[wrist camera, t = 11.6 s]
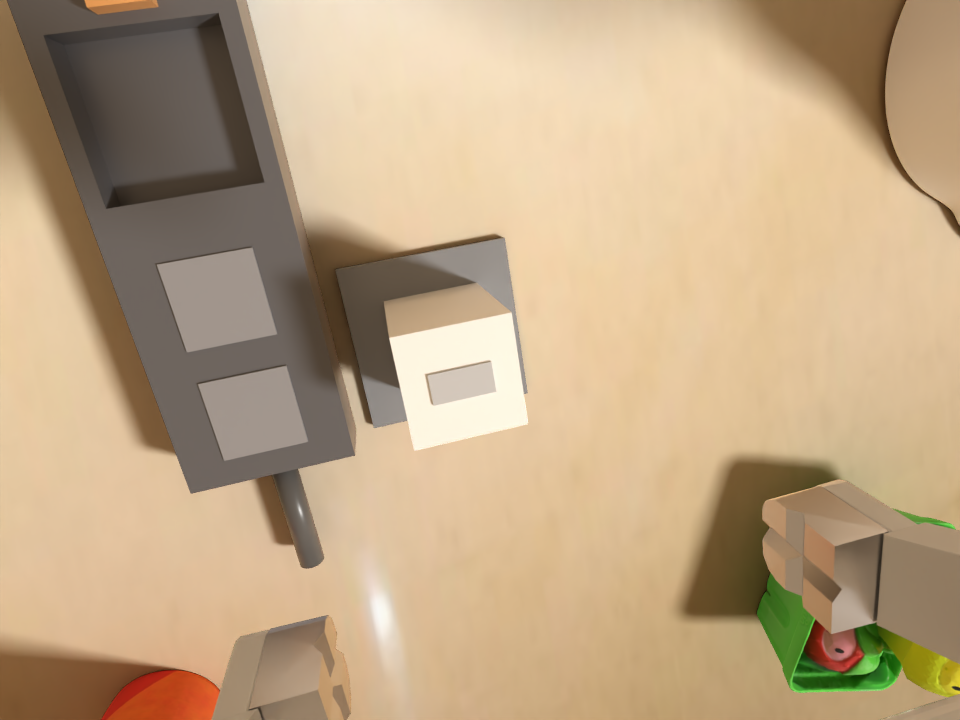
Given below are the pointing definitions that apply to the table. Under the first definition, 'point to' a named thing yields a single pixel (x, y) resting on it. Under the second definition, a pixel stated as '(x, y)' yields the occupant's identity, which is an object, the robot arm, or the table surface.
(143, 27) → the power strip
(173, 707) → the coffee cup
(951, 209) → the robot arm
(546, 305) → the table surface
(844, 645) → the fruit basket
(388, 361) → the mat
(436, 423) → the block
